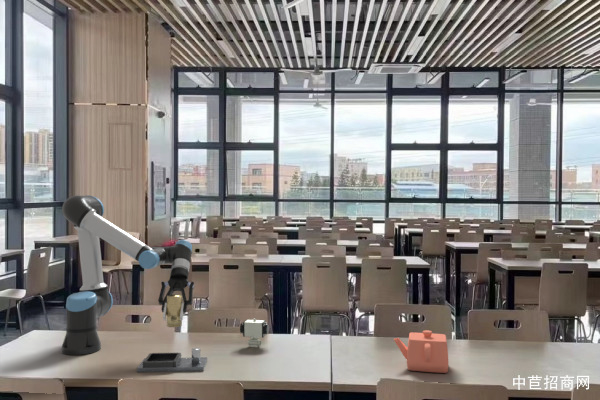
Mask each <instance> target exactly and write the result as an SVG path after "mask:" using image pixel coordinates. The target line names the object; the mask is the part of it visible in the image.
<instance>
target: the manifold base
mask: <svg viewBox="0 0 600 400" xmlns="http://www.w3.org/2000/svg"><path fill="white" fill-rule="evenodd" d="M207 363H208V356H207V357H205V356H203V357H201V348H200V347H193V348H191V357H182V353H181V352H151V353H148V355H147V356H146V357H145V358H144V359H142V361H141V362H140V363H139V365H138V366H137V367H136V373H162V372H169V373H170V372H172V373H173V372H174V373H175V372H204V370H205V368H206V365H207Z"/></svg>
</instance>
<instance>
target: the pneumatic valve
mask: <svg viewBox="0 0 600 400" xmlns="http://www.w3.org/2000/svg"><path fill="white" fill-rule="evenodd" d="M239 332H240V334H242V337H245V338H247V337H248V338H250V339H248V340H247V346H248V347H249V348H255V349H256V348H259V347H260V346H261V345H262V340H261V339H260V338H265V337H266V336H267V335H269V332H270V325H269V324H268V323H267V320H262V319H261V320H260V319H256V318H253V319H245V320H244V321H242V322H241V323H240V326H239Z"/></svg>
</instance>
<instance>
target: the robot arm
mask: <svg viewBox="0 0 600 400" xmlns="http://www.w3.org/2000/svg"><path fill="white" fill-rule="evenodd" d="M61 210H62V214H63V216H64V218H65V219H66V220H67V221H68V222H70V224H71V223H72V225H73V228H74V229H75V230H76V231H77V238H78V239H77V240H78V247H79V256H80V257H79V258H80V267H81V268H80V269H81V279H82V286H81V287H80V288H79V292H73V293H72V294H70V295H68V296H67V298H66V304H65V311H66V312H65V316H66V317H65V318H66V320H65V323H66V326H65V327H66V329H65V330H66V332H65V333H66V334H65V336H64V338H63V342H62V345H61V353H62V354H63V355H69V356H79V355H81V356H82V355H88V354H93V353H96V352H98V351H100V350H101V349H102V348H101V346H102V344H101V342H102V341H101V340H100V336H99V334H98V330H97V319H98V318H101V317H103V316H105V315H106V314H107V313H108V312H109V311H110V310H111V309H112V307H113V304H114V299H113V295H112V293H111V292H109V287H108V284H106V283H105V282H104V273H103V272H104V271H103V263H102V251H101V243H100V241H101V240H103V241H104V242H106V243H108V244H109V245H111V246H113V247H114V248H116V249H117V250H118V251H121V252H122V253H124V254H126V255H127V256H128V257H130V258H132V259H133V260H135V261H136V262H138V264H139V266H140V267H141V268H142V269H146V270H151V269H155V268H156V267H158V266H161V265H167V264H171V268H170V269H171V270H170V273H169V274H170V275H169V279H168V281H161V283H160V284H161V288H160V293H159V296H158V305H161V309H160V310H161V312H162V313H163V314H162V319H163V321H166V322H167V295H173V294H174V292H181V295H182V306H181V312H180V320H182V321H183V320H184V313H187V310H188V306H191V305H192V304H193V295H194V294H193V293H194V292H193V291H194V289H195V282H194V281H191V282H190V281H189V275H190V267H191V259H192V255H193V250H192V249H193V245H192V243H191V242H190V241H189V240H187V239H180V240H177V241H176V242H175V244H174V245H171V246H158V247H155V246H154V247H150V246H149V245H147V244H145V243H144V242H142V241H141V240H139V239H138V238H136V237H134V236H133V235H131V234H130V233H128V232H126V230H123V229H122V228H120V227H119V226H118V225H115V224H114V223H112V222H111V221H109V220H107V219H106V218H104V217H103V215H104V213H105V207H104V204H103V202H102V201H101V199H99V198H98V197H96V196H92V195H72V196H69V197H68V198H67V199H66V200H65V201H64V202H63V204H62V207H61ZM168 286H169V289H168V291H167V293H166V289H167V287H168ZM187 287H188V300H187V296H186V291H185V289H186V288H187ZM165 293H166V294H165Z"/></svg>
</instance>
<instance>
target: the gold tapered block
mask: <svg viewBox="0 0 600 400" xmlns="http://www.w3.org/2000/svg"><path fill="white" fill-rule="evenodd" d="M182 303H183V297H182V294H174V293H173V294H172V295H167V315H166V327H167V328H179V327H182V326H183V320H180V312H181V306H182Z"/></svg>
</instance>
